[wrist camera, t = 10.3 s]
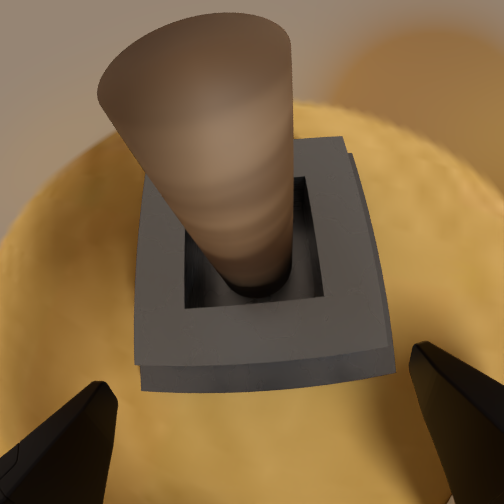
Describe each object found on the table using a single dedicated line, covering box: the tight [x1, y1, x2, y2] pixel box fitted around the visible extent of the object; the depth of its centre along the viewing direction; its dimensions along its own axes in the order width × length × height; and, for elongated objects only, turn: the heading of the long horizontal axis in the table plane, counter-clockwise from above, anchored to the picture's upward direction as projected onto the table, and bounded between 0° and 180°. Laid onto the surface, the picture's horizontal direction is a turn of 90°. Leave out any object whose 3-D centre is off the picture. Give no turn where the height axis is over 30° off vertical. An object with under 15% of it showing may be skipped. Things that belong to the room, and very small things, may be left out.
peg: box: [97, 13, 294, 298], centre depth 11 cm, size 4×4×13 cm
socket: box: [134, 136, 396, 393], centre depth 16 cm, size 14×14×4 cm
